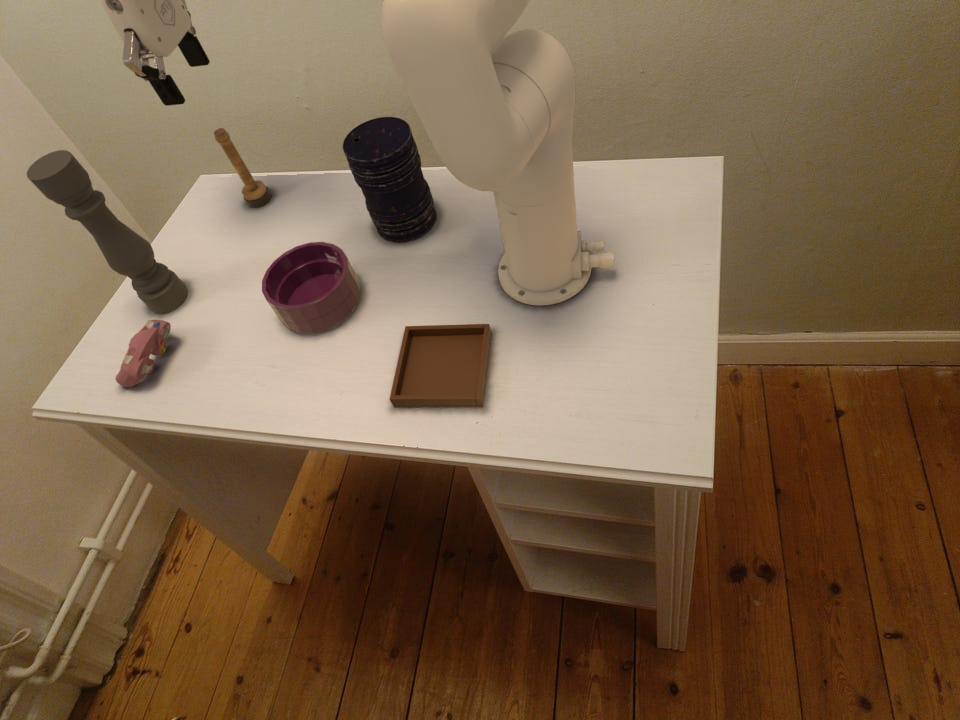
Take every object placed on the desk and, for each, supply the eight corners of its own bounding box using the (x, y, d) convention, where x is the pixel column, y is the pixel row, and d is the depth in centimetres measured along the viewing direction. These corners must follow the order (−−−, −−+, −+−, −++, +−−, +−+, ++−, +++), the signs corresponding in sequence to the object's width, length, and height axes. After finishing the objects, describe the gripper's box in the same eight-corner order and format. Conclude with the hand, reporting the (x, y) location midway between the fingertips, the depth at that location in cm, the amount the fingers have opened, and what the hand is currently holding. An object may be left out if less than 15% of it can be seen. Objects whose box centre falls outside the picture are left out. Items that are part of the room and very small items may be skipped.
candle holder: (196, 288, 95) (83, 152, 75) (170, 317, 92) (46, 184, 72) (167, 280, 97) (51, 145, 77) (141, 308, 94) (14, 177, 74)
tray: (491, 333, 79) (489, 323, 78) (483, 407, 73) (480, 399, 71) (409, 335, 82) (405, 326, 80) (394, 407, 75) (389, 399, 74)
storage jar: (441, 197, 97) (416, 112, 85) (433, 241, 91) (405, 157, 79) (381, 202, 99) (349, 120, 87) (370, 245, 93) (334, 164, 81)
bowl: (369, 269, 90) (356, 239, 86) (351, 335, 83) (335, 306, 79) (294, 272, 93) (276, 244, 88) (270, 337, 86) (250, 310, 81)
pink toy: (148, 397, 86) (139, 374, 80) (115, 387, 85) (103, 363, 79) (181, 340, 91) (174, 315, 85) (150, 331, 90) (141, 304, 85)
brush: (274, 189, 106) (236, 120, 95) (267, 207, 104) (226, 138, 93) (251, 191, 107) (211, 123, 96) (243, 208, 105) (201, 140, 94)
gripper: (106, -18, 69) (189, 117, 83) (165, -83, 78) (231, 48, 92) (49, -9, 70) (141, 122, 84) (115, -74, 80) (187, 54, 94)
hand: (188, 83), depth 88 cm, fingers open, 9 cm apart
